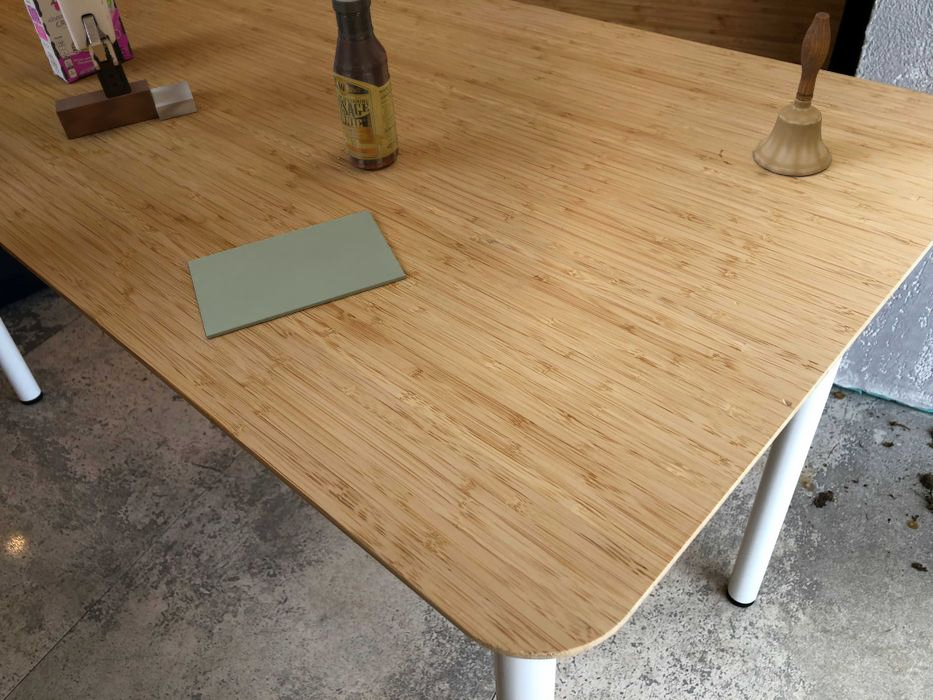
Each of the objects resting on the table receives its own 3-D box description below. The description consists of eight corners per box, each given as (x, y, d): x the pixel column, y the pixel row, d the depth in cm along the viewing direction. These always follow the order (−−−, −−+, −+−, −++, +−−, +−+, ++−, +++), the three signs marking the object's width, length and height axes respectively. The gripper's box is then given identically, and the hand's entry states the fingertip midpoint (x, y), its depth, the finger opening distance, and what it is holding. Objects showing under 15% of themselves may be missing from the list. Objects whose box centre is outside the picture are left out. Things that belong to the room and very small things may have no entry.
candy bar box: (69, 85, 124) (19, -30, 113) (54, 76, 127) (4, -38, 116) (137, 57, 129) (96, -56, 118) (122, 49, 132) (80, -62, 121)
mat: (207, 339, 81) (206, 336, 80) (188, 264, 90) (187, 261, 89) (406, 278, 85) (405, 275, 85) (368, 212, 94) (368, 209, 94)
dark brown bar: (68, 143, 111) (55, 116, 108) (66, 123, 115) (54, 96, 113) (197, 111, 115) (188, 83, 112) (191, 93, 119) (182, 66, 116)
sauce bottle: (338, 162, 102) (303, -5, 89) (376, 140, 105) (348, -24, 92) (374, 179, 99) (344, 8, 85) (413, 156, 102) (389, -12, 88)
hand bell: (764, 132, 99) (789, -6, 88) (839, 146, 96) (874, 4, 85) (743, 167, 94) (766, 26, 83) (820, 183, 91) (855, 38, 80)
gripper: (27, -71, 105) (83, 60, 117) (29, -26, 93) (91, 115, 105) (89, -84, 106) (138, 47, 118) (98, -42, 94) (152, 99, 106)
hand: (116, 79), depth 111 cm, fingers open, 9 cm apart
